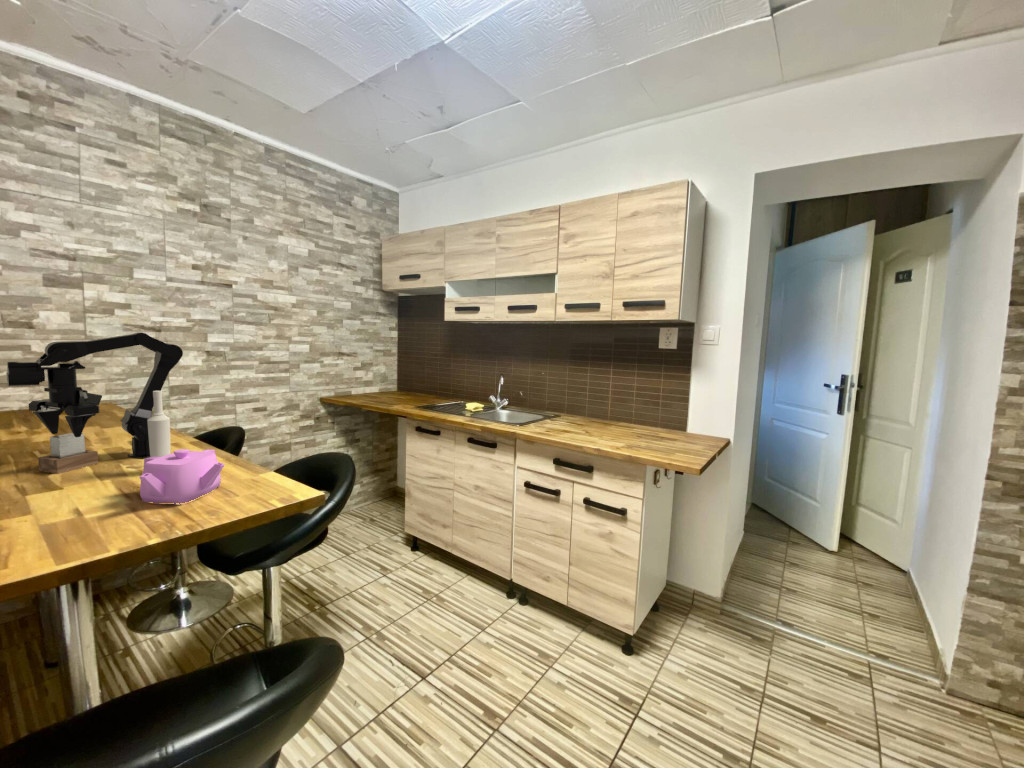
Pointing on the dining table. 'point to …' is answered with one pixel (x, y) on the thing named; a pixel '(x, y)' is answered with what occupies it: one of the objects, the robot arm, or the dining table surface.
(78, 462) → the post block
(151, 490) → the teakettle
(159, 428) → the bottle
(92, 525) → the dining table surface
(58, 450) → the light grey squat block
